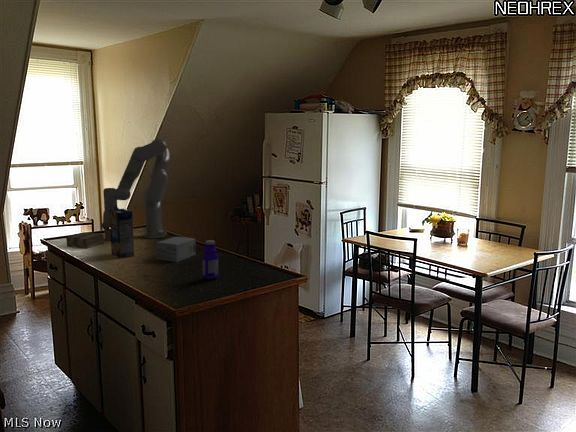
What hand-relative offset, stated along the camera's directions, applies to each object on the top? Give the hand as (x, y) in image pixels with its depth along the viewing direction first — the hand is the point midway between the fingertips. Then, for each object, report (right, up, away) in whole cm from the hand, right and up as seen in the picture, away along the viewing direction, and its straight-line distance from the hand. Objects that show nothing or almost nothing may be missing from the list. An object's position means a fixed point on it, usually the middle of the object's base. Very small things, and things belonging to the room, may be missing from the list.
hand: (112, 238), depth 314 cm
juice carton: (+18, -8, -38) cm, 42 cm away
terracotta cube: (0, -1, 0) cm, 1 cm away
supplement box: (+47, -9, -40) cm, 63 cm away
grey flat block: (-10, -4, -15) cm, 18 cm away
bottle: (+71, -15, -78) cm, 106 cm away
